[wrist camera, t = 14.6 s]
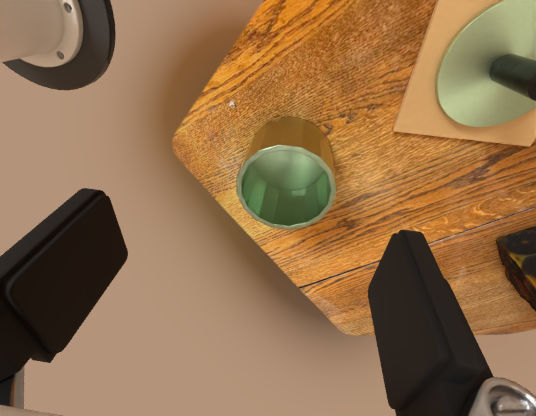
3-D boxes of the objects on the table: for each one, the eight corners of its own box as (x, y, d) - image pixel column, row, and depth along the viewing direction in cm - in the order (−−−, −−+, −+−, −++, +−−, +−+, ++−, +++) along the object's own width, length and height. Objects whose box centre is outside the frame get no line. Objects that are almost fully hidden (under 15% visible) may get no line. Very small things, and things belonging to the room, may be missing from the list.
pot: (248, 186, 42) (236, 222, 36) (250, 112, 36) (236, 139, 29) (322, 196, 42) (325, 234, 35) (339, 122, 35) (346, 152, 28)
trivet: (391, 129, 35) (392, 131, 34) (452, -44, 25) (454, -45, 24) (526, 144, 34) (530, 146, 33) (644, -30, 24) (650, -30, 24)
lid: (415, 117, 33) (439, 145, 27) (467, -13, 26) (515, -16, 20) (522, 128, 32) (572, 160, 26) (606, -2, 25) (702, -1, 19)
